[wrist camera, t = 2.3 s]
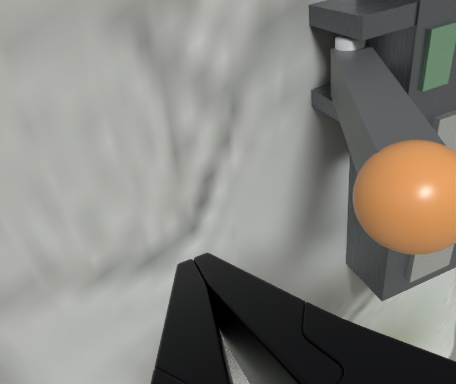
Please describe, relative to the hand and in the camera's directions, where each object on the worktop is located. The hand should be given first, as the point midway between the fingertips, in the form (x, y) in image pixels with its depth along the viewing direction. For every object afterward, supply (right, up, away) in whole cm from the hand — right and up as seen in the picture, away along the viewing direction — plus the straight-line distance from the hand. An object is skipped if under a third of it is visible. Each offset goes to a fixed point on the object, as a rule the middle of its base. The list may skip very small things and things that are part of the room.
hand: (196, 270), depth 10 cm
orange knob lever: (+7, +8, +9) cm, 14 cm away
